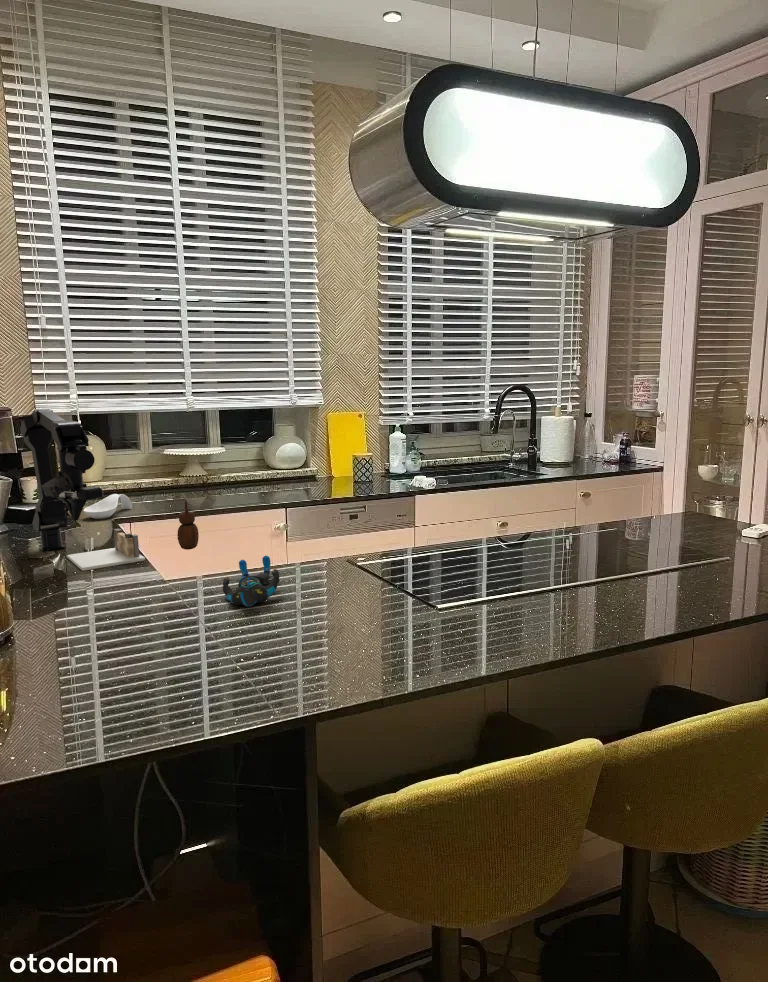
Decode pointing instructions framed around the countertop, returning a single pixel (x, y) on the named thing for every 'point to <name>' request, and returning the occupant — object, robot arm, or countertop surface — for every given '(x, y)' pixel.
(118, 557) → the white flat posted base
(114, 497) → the spoon rest
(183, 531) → the wooden figurine
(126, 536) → the gate
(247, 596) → the figurine
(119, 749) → the countertop surface
